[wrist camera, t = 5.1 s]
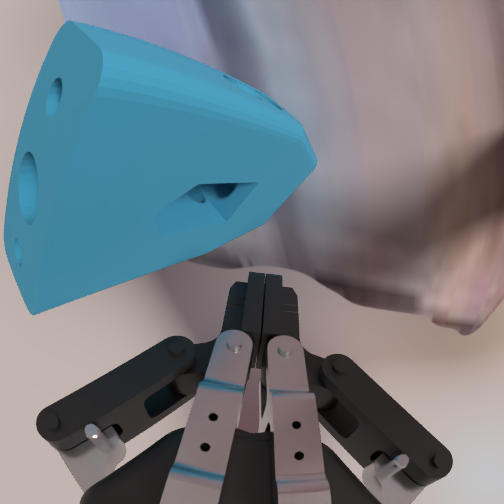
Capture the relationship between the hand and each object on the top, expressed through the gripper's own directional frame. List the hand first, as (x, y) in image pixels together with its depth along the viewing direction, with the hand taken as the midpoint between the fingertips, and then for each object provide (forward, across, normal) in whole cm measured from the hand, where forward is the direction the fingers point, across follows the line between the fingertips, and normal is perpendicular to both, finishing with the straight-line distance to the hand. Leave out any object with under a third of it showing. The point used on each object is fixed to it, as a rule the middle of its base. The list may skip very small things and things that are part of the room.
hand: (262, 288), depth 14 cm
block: (+14, 0, 0) cm, 15 cm away
